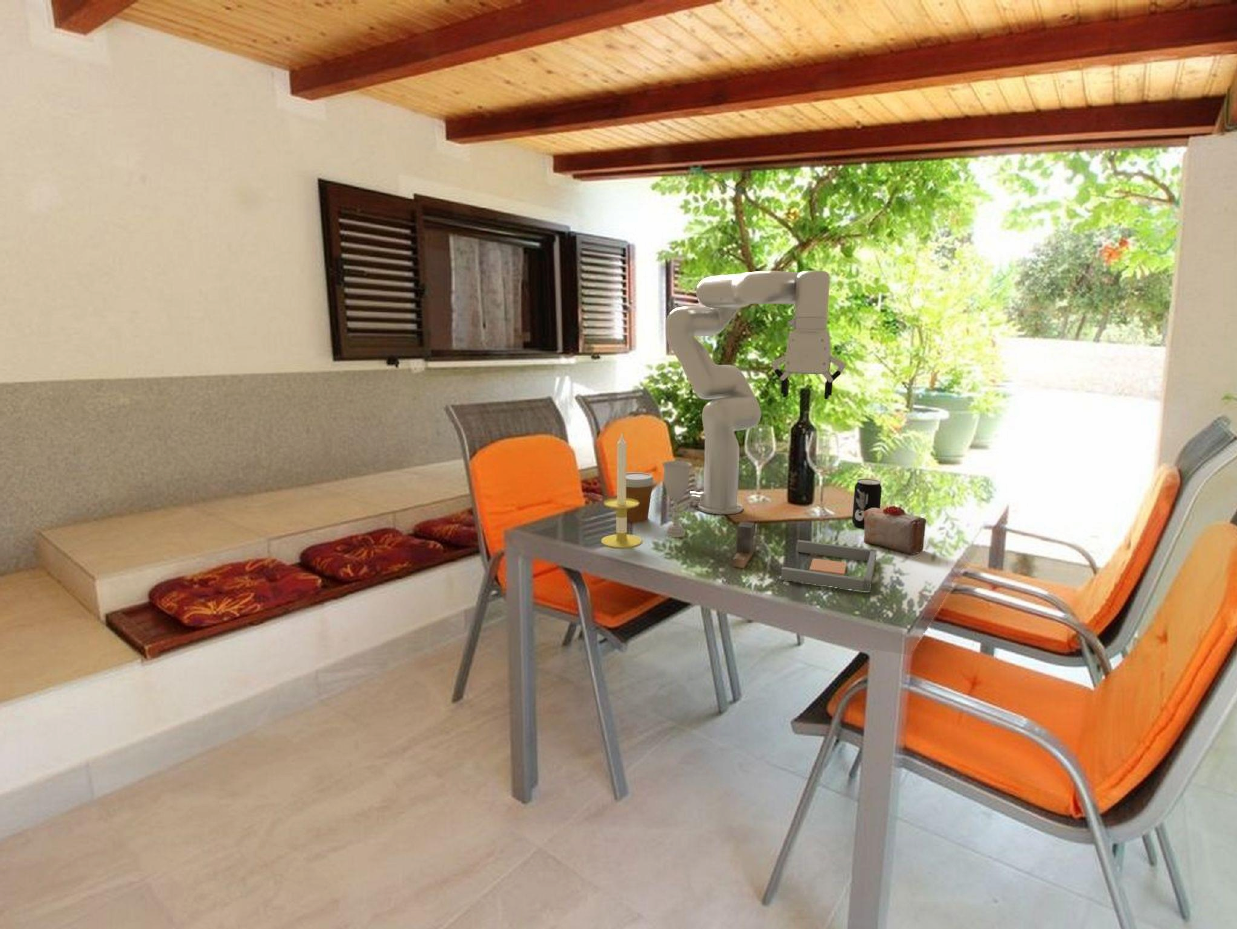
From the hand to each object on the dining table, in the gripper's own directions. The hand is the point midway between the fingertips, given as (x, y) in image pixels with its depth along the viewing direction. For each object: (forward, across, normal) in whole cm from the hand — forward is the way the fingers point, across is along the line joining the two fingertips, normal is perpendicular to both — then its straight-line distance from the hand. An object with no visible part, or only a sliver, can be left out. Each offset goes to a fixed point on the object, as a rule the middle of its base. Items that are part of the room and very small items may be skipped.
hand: (805, 397), depth 162 cm
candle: (+34, -38, -24) cm, 57 cm away
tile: (+35, +10, -23) cm, 43 cm away
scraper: (+34, -8, -23) cm, 42 cm away
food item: (+35, +22, 0) cm, 41 cm away
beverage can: (+34, +15, +14) cm, 40 cm away
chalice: (+34, -28, -13) cm, 46 cm away
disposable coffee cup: (+34, -42, -5) cm, 55 cm away
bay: (+34, +10, -23) cm, 42 cm away
